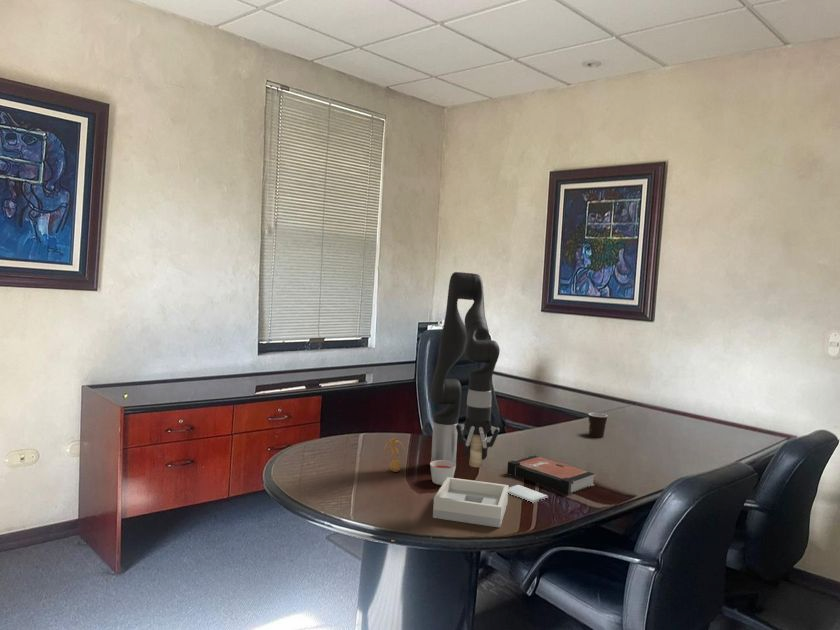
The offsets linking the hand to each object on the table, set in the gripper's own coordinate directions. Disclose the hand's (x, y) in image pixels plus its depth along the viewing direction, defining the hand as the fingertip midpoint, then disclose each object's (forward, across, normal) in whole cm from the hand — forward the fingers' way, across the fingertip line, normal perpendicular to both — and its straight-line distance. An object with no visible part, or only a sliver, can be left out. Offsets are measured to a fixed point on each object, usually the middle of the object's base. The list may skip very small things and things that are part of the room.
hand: (476, 458), depth 195 cm
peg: (+2, 0, 0) cm, 2 cm away
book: (+16, -22, -37) cm, 46 cm away
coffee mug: (+16, -41, -111) cm, 119 cm away
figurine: (+16, +33, -24) cm, 44 cm away
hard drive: (+16, -15, -17) cm, 28 cm away
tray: (+16, 0, +3) cm, 16 cm away
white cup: (+16, +14, -19) cm, 28 cm away
